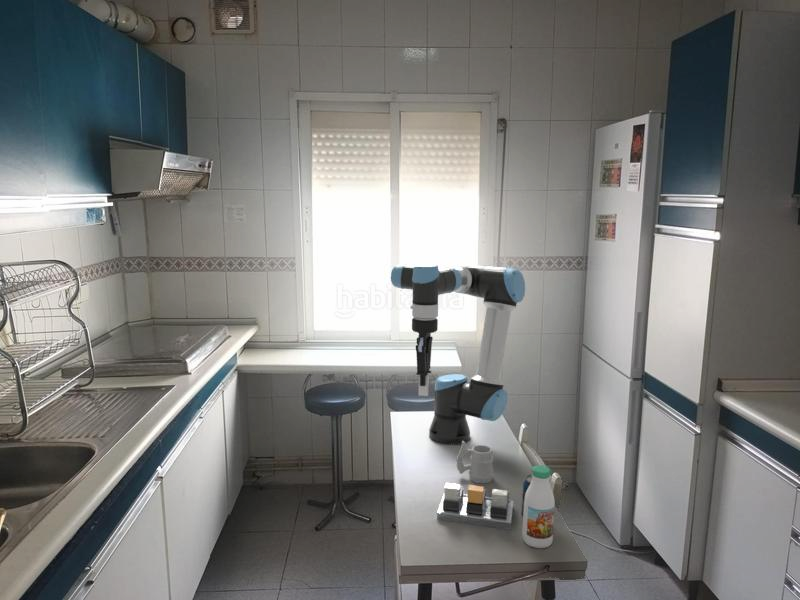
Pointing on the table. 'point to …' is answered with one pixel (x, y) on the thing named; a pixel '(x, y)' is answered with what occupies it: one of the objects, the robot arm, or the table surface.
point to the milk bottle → (539, 509)
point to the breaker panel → (476, 520)
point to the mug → (477, 463)
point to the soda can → (525, 487)
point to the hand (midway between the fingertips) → (423, 394)
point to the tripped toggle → (475, 494)
